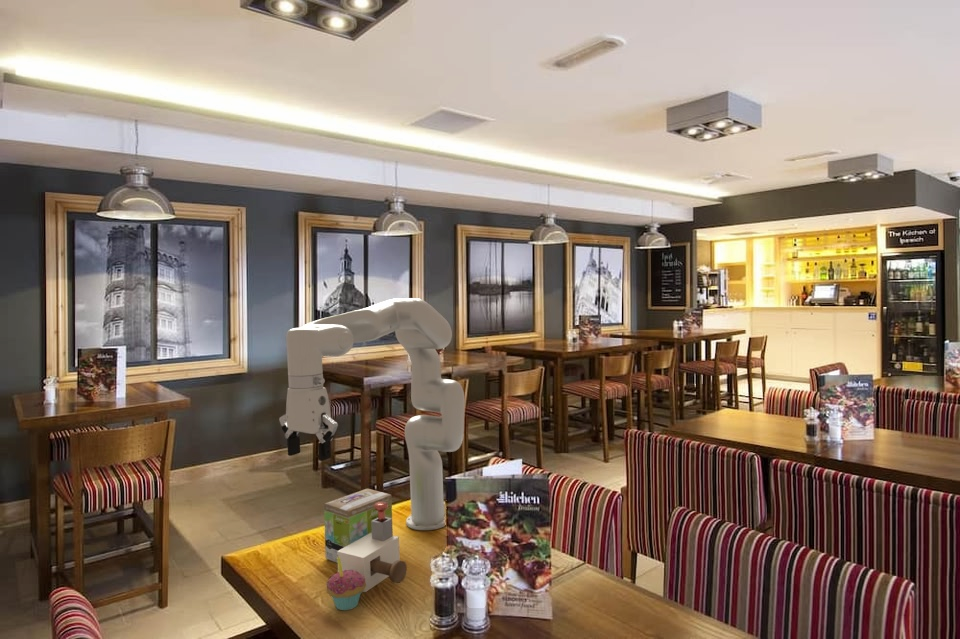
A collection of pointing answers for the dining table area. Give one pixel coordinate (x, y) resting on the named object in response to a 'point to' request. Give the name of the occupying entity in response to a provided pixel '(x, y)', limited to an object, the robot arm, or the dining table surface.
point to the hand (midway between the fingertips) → (309, 456)
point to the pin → (390, 569)
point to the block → (371, 552)
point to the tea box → (351, 519)
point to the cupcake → (345, 587)
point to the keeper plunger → (381, 510)
